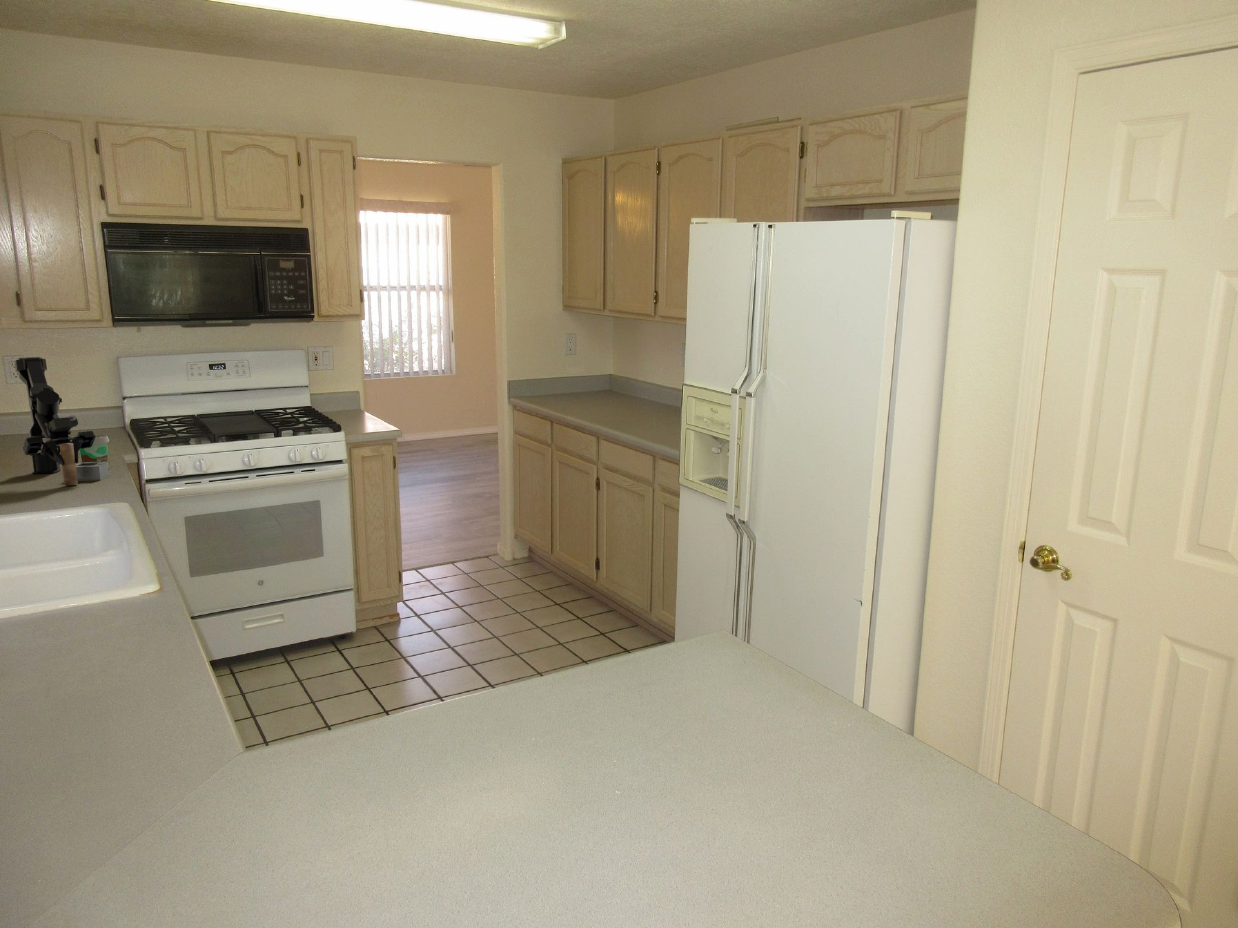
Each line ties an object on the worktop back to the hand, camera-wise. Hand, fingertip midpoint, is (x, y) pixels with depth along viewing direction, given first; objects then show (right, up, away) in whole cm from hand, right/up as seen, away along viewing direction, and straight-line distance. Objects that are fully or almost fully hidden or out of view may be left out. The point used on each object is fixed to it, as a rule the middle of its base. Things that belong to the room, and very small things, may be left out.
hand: (70, 463), depth 266 cm
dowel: (-1, -6, +2) cm, 7 cm away
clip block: (-2, -5, +13) cm, 14 cm away
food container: (-12, -1, +36) cm, 38 cm away
